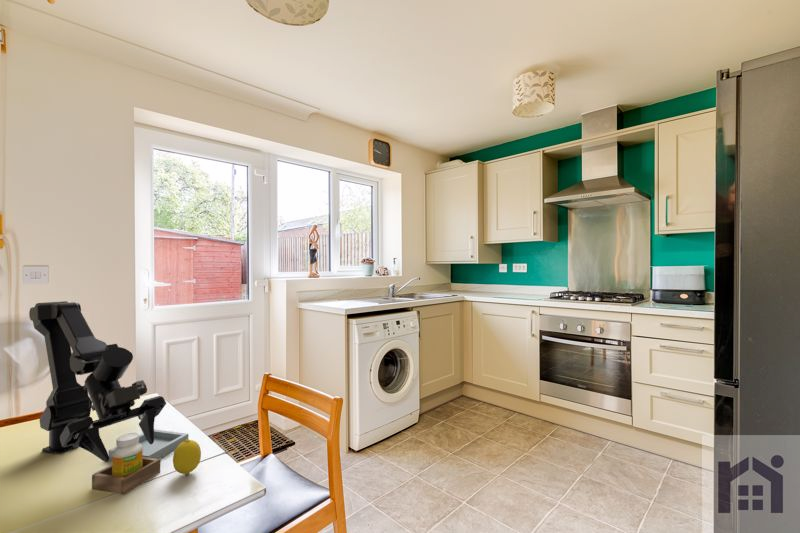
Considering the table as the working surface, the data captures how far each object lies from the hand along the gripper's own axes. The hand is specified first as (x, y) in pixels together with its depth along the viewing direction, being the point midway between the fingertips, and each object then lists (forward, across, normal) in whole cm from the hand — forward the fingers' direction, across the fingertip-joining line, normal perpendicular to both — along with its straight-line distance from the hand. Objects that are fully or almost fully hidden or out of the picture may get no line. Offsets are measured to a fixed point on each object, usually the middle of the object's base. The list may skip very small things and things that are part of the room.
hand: (130, 451), depth 79 cm
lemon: (+10, +8, -1) cm, 13 cm away
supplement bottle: (+4, 0, +6) cm, 7 cm away
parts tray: (-3, +10, +13) cm, 16 cm away
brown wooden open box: (+4, 0, +6) cm, 7 cm away
